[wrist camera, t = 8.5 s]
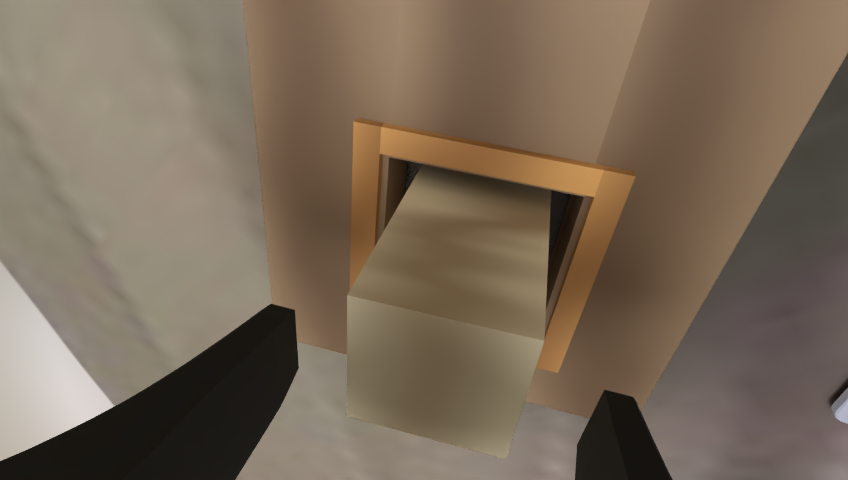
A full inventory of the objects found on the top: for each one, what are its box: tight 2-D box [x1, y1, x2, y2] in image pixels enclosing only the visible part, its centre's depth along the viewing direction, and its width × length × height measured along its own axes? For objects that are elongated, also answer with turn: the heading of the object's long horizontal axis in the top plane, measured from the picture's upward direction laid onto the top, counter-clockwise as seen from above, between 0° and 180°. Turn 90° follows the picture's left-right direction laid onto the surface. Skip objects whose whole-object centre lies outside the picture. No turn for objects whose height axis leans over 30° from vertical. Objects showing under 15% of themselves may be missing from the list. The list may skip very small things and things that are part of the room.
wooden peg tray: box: [243, 0, 848, 418], centre depth 13 cm, size 14×23×3 cm, turn 174°
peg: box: [347, 164, 551, 459], centre depth 14 cm, size 4×4×8 cm
